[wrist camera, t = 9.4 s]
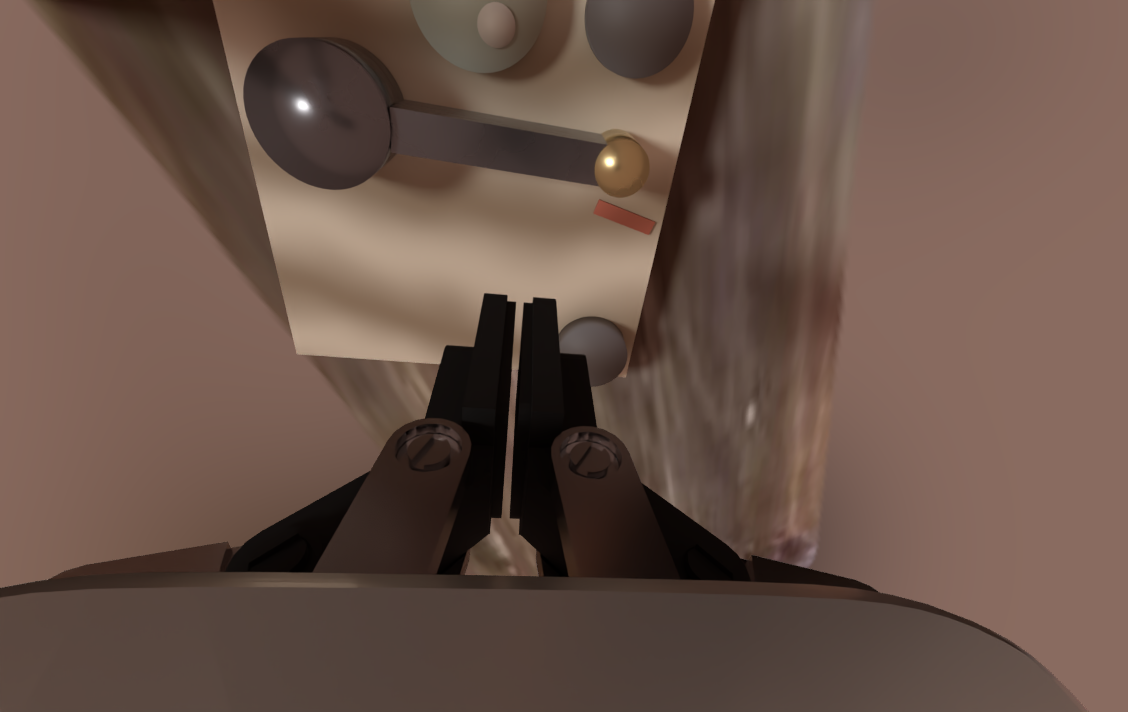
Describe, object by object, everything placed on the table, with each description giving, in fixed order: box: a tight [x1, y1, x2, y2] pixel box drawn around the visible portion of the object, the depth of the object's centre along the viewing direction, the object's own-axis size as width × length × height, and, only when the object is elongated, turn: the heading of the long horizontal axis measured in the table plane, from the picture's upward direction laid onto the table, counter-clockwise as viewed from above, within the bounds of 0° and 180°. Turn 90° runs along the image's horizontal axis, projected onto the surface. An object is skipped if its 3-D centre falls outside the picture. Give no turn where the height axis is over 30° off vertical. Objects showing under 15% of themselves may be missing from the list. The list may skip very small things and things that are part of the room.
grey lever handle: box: [243, 37, 650, 198], centre depth 19 cm, size 15×5×3 cm, turn 80°
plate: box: [213, 0, 715, 387], centre depth 22 cm, size 20×19×3 cm
